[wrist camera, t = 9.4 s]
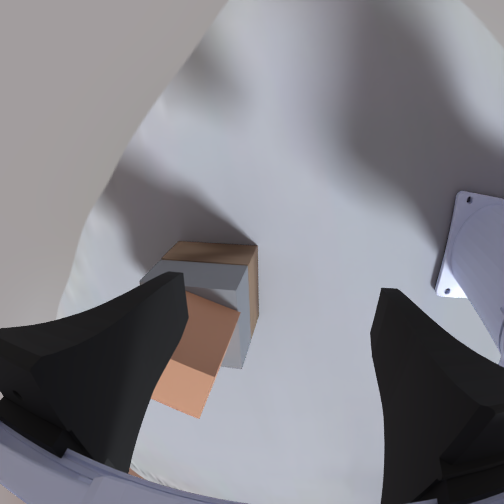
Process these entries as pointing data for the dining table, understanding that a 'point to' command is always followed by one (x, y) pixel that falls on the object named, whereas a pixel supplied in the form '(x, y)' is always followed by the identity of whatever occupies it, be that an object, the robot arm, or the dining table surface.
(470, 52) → the dining table surface
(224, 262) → the walnut slab
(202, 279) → the slate slab
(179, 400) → the tan clay cube
